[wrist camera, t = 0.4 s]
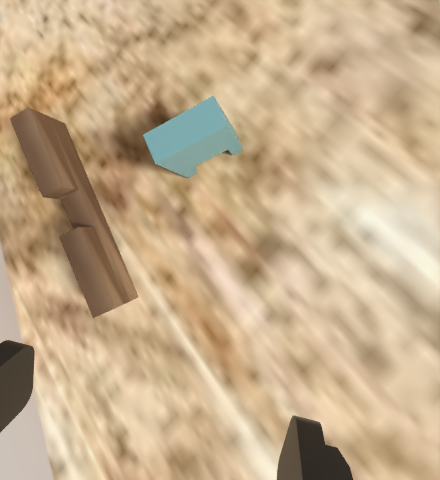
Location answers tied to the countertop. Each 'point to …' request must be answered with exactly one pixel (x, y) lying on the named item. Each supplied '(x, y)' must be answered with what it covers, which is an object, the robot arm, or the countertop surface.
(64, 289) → the countertop surface
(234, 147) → the teal notched bridge block
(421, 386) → the countertop surface
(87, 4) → the countertop surface
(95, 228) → the walnut slotted plate
